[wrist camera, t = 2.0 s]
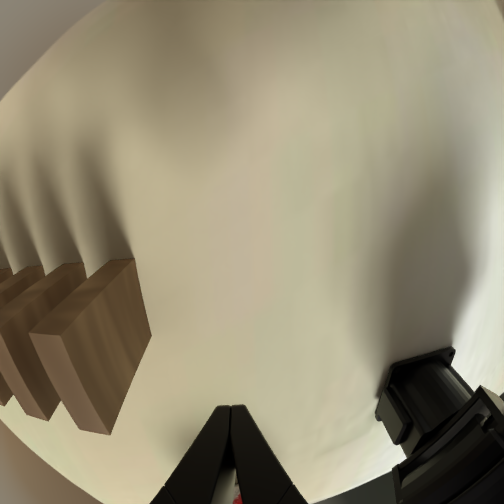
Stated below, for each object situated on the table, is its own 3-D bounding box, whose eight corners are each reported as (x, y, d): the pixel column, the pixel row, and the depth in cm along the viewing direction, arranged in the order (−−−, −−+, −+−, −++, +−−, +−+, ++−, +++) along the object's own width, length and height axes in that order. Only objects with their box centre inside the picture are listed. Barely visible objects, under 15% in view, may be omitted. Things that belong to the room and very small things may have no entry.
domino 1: (42, 265, 15) (-40, 322, 7) (63, 333, 16) (4, 406, 8) (27, 266, 15) (-52, 320, 7) (47, 331, 16) (-12, 399, 8)
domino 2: (83, 262, 15) (-2, 329, 7) (103, 335, 16) (48, 421, 9) (63, 263, 15) (-21, 326, 7) (84, 334, 16) (26, 414, 9)
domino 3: (134, 258, 15) (60, 335, 7) (151, 335, 16) (110, 435, 9) (109, 260, 15) (28, 332, 7) (128, 335, 16) (79, 429, 9)
